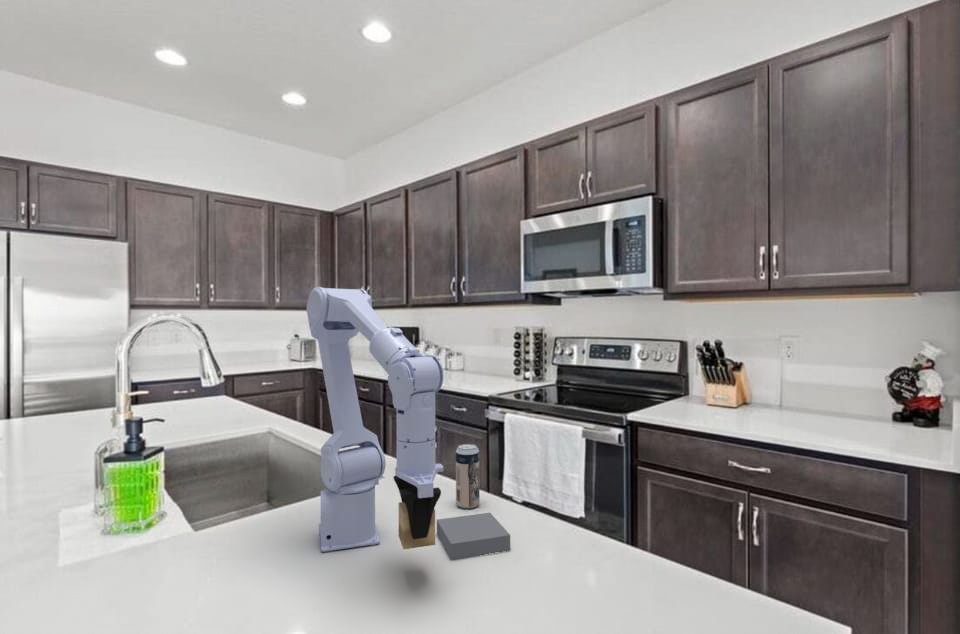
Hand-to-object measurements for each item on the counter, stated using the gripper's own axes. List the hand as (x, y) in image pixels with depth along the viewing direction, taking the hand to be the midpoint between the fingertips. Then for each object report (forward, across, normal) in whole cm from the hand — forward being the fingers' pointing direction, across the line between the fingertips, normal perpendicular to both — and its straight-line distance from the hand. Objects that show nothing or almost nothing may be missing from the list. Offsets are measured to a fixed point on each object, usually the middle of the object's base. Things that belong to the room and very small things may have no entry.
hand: (416, 530), depth 72 cm
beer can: (+7, +24, -15) cm, 29 cm away
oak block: (+2, 0, 0) cm, 2 cm away
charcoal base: (+7, +8, -11) cm, 15 cm away
